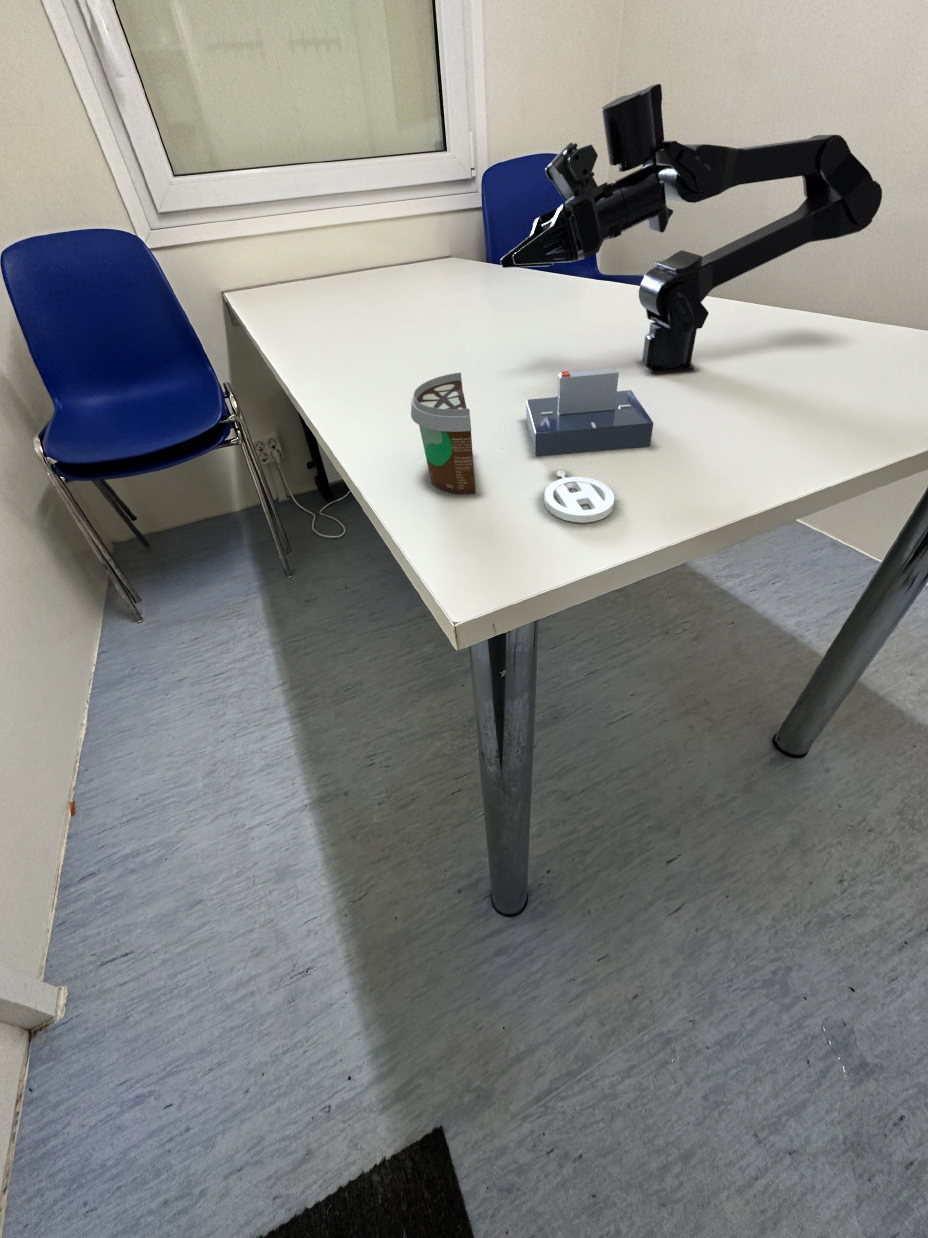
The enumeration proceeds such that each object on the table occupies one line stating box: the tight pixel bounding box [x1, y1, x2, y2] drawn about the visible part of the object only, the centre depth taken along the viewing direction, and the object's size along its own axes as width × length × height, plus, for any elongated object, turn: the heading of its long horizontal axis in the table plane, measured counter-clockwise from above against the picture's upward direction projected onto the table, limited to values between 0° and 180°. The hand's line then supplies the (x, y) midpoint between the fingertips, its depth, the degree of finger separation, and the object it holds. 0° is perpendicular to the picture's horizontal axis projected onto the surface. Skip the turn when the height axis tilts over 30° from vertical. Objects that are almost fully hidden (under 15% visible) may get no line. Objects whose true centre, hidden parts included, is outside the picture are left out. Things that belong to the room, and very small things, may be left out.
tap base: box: [525, 389, 654, 457], centre depth 70 cm, size 14×11×3 cm
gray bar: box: [557, 367, 620, 415], centre depth 67 cm, size 7×2×5 cm, turn 91°
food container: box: [410, 371, 477, 495], centre depth 62 cm, size 12×6×10 cm, turn 5°
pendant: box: [543, 470, 615, 524], centre depth 59 cm, size 7×11×1 cm, turn 12°
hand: (507, 261), depth 73 cm, fingers open, 9 cm apart
